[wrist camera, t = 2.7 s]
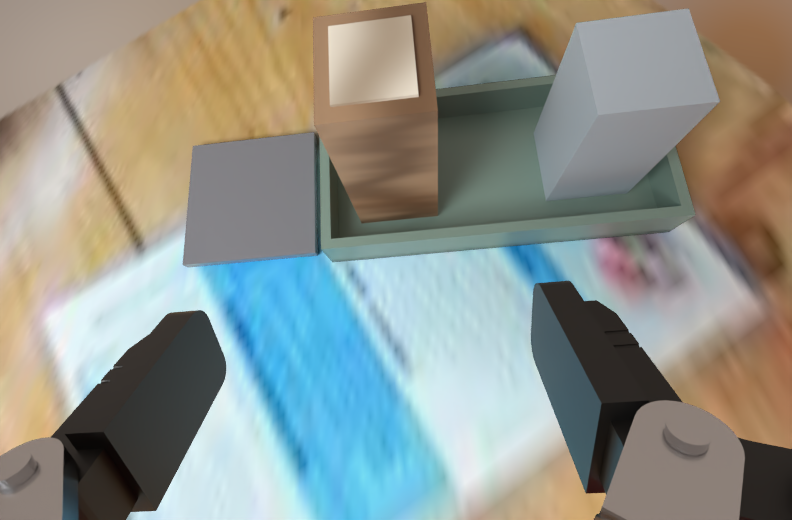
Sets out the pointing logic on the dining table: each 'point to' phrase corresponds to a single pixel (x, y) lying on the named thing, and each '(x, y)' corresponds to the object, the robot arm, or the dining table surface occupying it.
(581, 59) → the plain box
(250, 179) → the slate pad
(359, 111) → the label box
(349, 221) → the parts bin
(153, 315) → the dining table surface
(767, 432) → the dining table surface
